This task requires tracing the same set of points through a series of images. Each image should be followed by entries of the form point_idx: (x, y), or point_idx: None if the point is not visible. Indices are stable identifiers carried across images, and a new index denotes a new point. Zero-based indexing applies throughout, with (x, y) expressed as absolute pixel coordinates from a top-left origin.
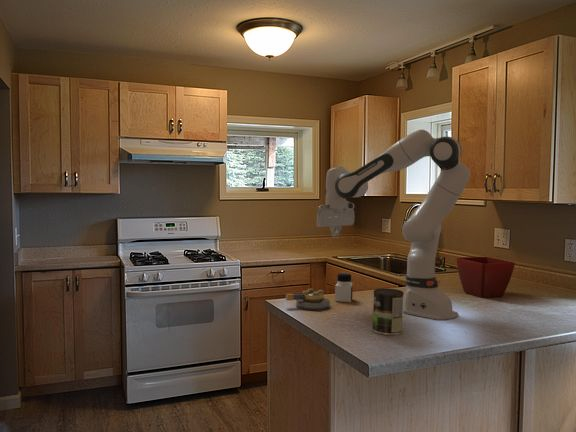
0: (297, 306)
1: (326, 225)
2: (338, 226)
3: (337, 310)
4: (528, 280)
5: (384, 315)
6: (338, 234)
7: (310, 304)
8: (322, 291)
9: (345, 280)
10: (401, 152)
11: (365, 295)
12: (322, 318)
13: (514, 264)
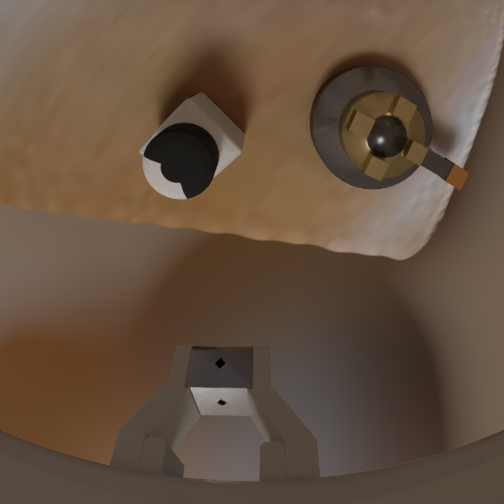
0: None
1: (498, 445)
2: (165, 469)
3: (338, 30)
4: None
5: None
6: (186, 359)
7: (422, 95)
8: (361, 113)
9: (199, 128)
10: None
11: (83, 159)
12: (444, 7)
13: None
